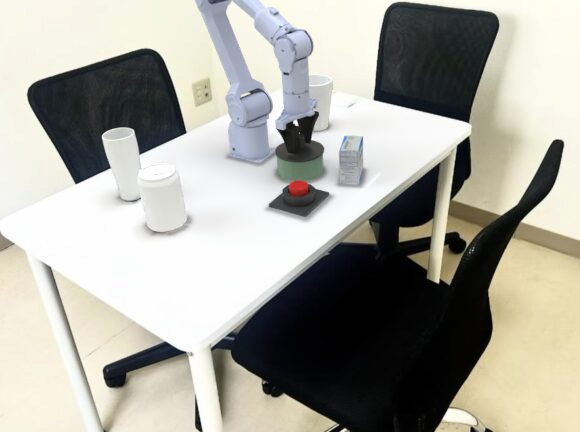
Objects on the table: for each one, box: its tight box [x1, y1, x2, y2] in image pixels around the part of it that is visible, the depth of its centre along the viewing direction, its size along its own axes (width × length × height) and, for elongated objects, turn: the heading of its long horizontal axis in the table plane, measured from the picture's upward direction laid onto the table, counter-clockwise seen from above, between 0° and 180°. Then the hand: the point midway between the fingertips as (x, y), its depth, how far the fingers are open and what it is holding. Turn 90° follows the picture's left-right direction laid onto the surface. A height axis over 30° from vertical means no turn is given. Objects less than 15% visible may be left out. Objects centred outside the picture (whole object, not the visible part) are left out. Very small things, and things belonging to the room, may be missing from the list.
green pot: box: [276, 154, 324, 182], centre depth 129 cm, size 10×10×5 cm
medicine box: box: [338, 135, 364, 185], centre depth 124 cm, size 8×4×9 cm, turn 168°
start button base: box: [268, 183, 330, 218], centre depth 117 cm, size 9×10×3 cm
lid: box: [274, 133, 325, 162], centre depth 126 cm, size 11×11×4 cm
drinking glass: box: [101, 127, 142, 202], centre depth 120 cm, size 7×7×15 cm
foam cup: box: [309, 73, 334, 132], centre depth 149 cm, size 10×9×13 cm
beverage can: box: [137, 162, 188, 233], centre depth 111 cm, size 8×8×12 cm
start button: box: [288, 181, 309, 196], centre depth 116 cm, size 4×4×2 cm
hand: (299, 147), depth 127 cm, fingers open, 5 cm apart
